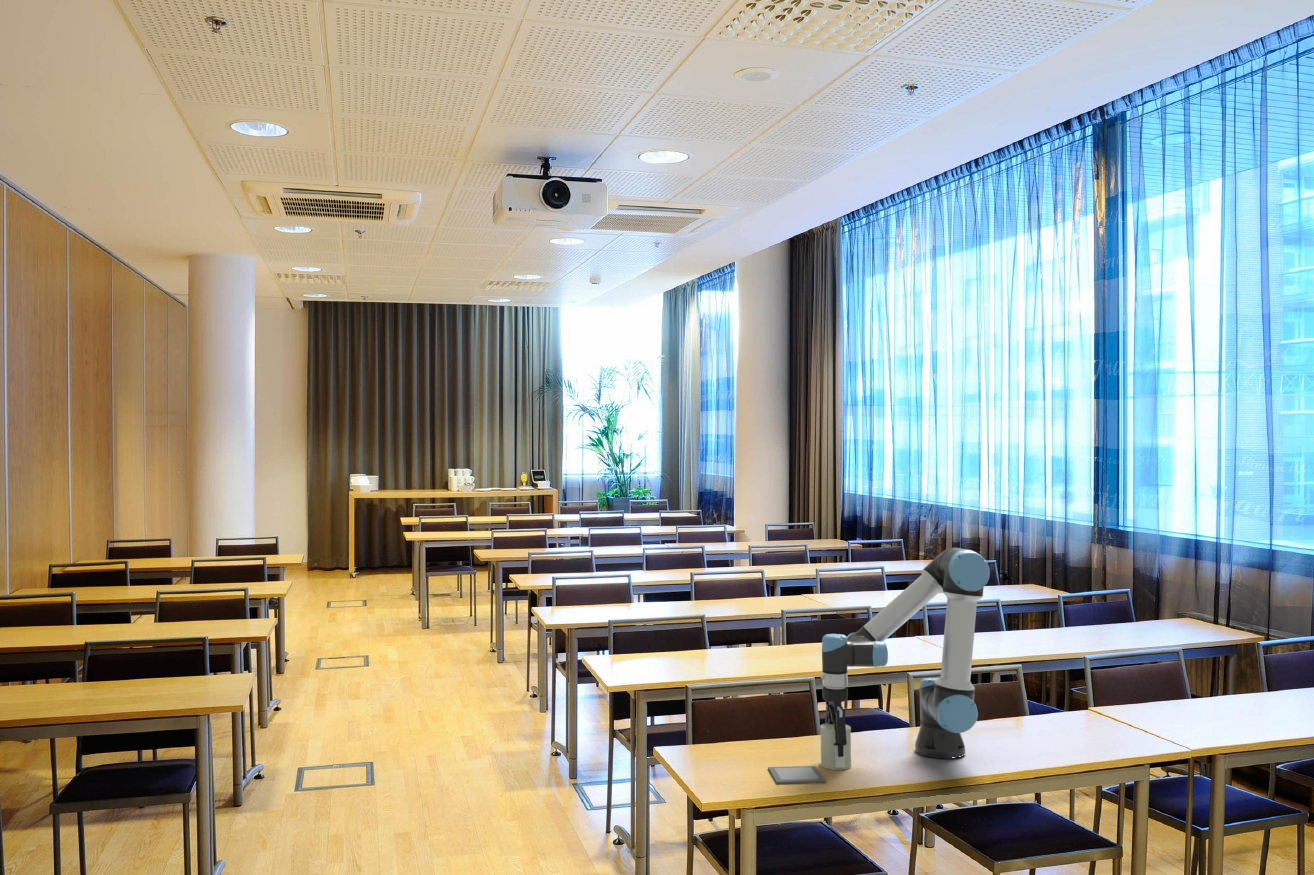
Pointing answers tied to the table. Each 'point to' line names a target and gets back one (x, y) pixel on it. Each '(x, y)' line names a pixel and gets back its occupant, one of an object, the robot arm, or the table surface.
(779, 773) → the coaster
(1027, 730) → the table surface
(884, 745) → the table surface
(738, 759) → the table surface
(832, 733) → the can
